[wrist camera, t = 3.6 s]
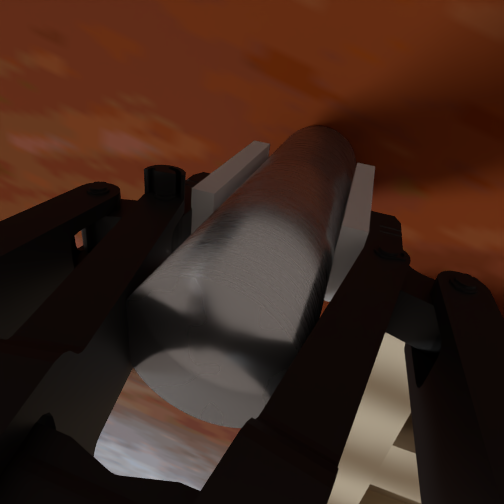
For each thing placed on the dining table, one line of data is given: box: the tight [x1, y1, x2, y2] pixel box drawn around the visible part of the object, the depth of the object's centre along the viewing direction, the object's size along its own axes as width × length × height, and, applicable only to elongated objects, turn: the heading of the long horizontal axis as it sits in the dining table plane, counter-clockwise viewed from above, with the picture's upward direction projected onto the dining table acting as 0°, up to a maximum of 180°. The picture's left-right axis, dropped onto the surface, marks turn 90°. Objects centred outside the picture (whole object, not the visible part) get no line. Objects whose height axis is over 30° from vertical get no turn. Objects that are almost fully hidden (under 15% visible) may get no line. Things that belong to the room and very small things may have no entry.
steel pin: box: [126, 126, 356, 428], centre depth 13 cm, size 4×4×14 cm
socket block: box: [327, 332, 421, 504], centre depth 23 cm, size 20×14×6 cm
